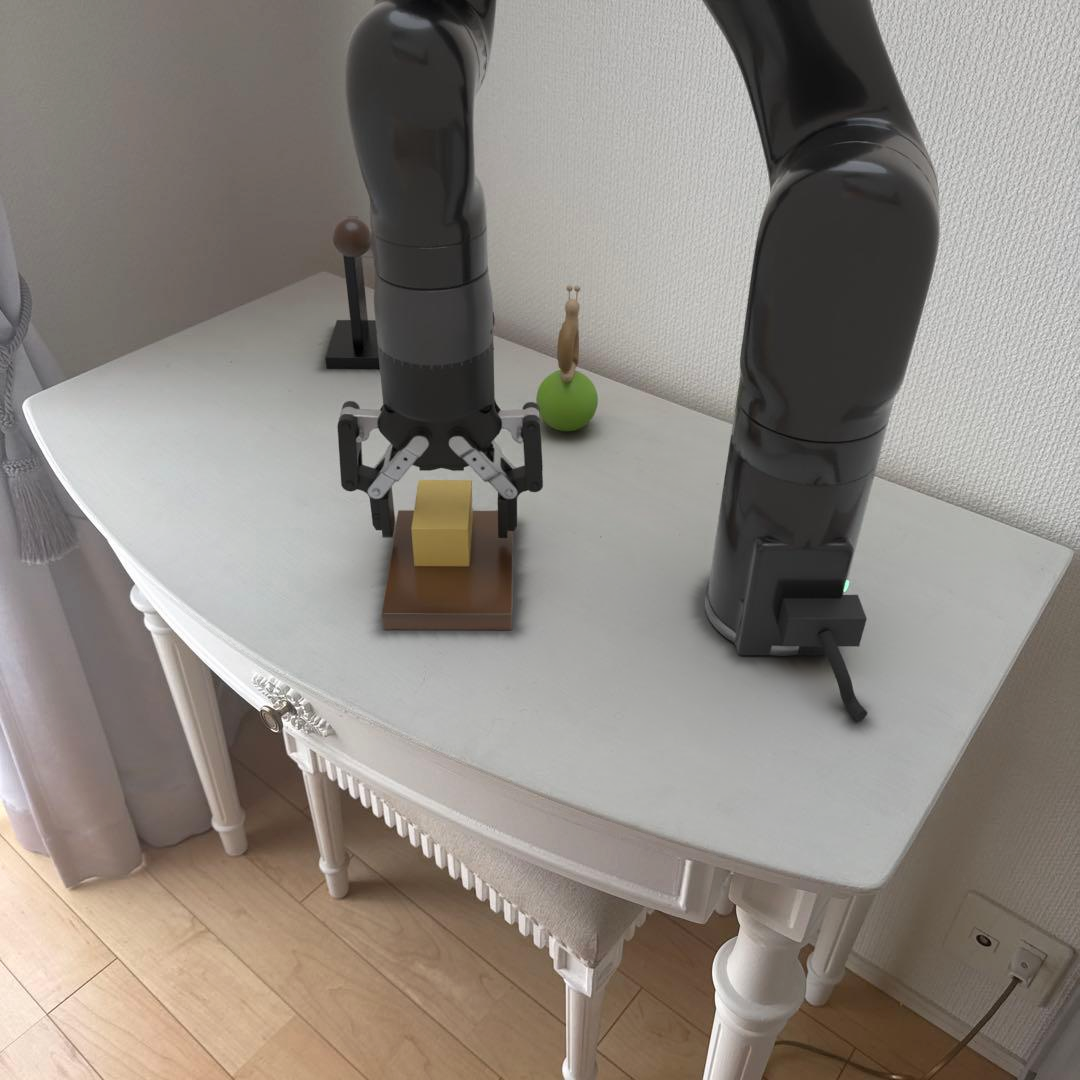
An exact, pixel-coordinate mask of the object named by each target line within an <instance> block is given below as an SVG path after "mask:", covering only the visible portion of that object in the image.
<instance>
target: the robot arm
mask: <svg viewBox="0 0 1080 1080" xmlns="http://www.w3.org/2000/svg"><path fill="white" fill-rule="evenodd" d="M701 1H702V3H703V4H704V6H705V7H706V9H707V10H708V13H709V14H710V15H711V17H712V18H713V20H714V22H715V23H716V25H717V27H718V29H719V30H720V31H721V33H722V35H723V36H724V38H725V40H726V42H727V45H728V46H729V48H730V50H731V52H732V54H733V56H734V58H735V61H736V63H737V66H738V68H739V71H740V74H741V76H742V80H743V82H744V85H745V89H746V91H747V94H748V98H749V102H750V106H751V108H752V111H753V115H754V119H755V121H756V122H755V124H756V126H757V131H758V134H759V138H760V143H761V147H762V151H763V156H764V160H765V165H766V170H767V171H766V172H767V176H768V183H769V195H768V198H767V201H766V203H765V206H764V209H763V212H762V215H761V219H760V223H759V226H758V230H757V231H758V232H757V236H756V242H755V247H754V252H753V260H752V267H751V274H750V280H749V281H750V282H749V287H748V295H747V303H746V310H745V319H744V325H743V333H742V340H741V347H740V355H739V371H740V372H739V381H738V386H737V387H738V388H737V395H736V400H735V407H734V413H733V419H732V420H733V421H732V427H731V435H730V439H729V445H728V453H727V460H726V467H725V472H724V473H725V474H724V479H723V486H722V492H721V499H720V506H719V513H718V521H717V526H716V533H715V539H714V540H715V541H714V546H713V553H712V559H711V560H712V562H711V569H710V574H709V582H708V583H707V588H706V592H705V599H704V608H705V612H706V616H707V618H708V620H709V622H710V623H711V624H712V626H713V627H714V629H716V630H717V631H718V632H719V633H720V634H721V635H722V636H723V637H725V638H726V639H727V640H729V641H730V642H732V643H733V644H734V646H735V649H736V652H737V654H738V655H739V656H777V657H778V656H779V657H781V656H783V657H785V656H787V657H789V656H826V658H827V660H828V663H829V665H830V667H831V670H832V672H833V675H834V677H835V681H836V683H837V686H838V690H839V694H840V698H841V701H842V703H843V705H844V707H845V708H846V711H848V712H849V714H850V715H851V716H852V718H854V720H855V721H857V722H858V721H863V720H864V719H865V718H866V717H867V716H868V711H867V710H866V708H864V707H863V705H861V703H860V702H859V700H858V698H857V697H856V694H855V692H854V686H853V682H852V678H851V676H850V673H849V671H848V668H847V665H846V663H845V661H844V658H843V656H842V653H841V650H840V648H839V647H860V645H861V641H862V637H863V634H864V630H865V627H866V623H867V619H868V618H867V615H866V613H865V610H864V607H863V604H862V603H861V600H860V597H859V595H858V594H845V592H846V591H847V589H848V587H849V584H850V581H849V576H850V572H851V569H852V565H853V561H854V557H855V553H856V549H857V545H858V541H859V537H860V534H861V531H862V526H863V522H864V518H865V514H866V510H867V506H868V503H869V499H870V494H871V490H872V488H873V482H874V479H875V475H876V471H877V469H878V468H877V467H878V464H879V460H880V457H881V452H882V449H883V446H884V441H885V437H886V433H887V430H888V426H889V422H890V418H891V415H892V410H893V407H894V403H895V400H896V397H897V395H898V394H899V392H900V391H901V388H902V385H903V383H904V380H905V377H906V374H907V369H908V366H909V362H910V358H911V355H912V351H913V348H914V345H915V342H916V337H917V333H918V330H919V327H920V323H921V319H922V315H923V313H924V308H925V305H926V301H927V297H928V294H929V290H930V287H931V282H932V278H933V276H934V275H933V274H934V271H935V266H936V261H937V256H938V251H939V245H940V235H941V230H940V229H941V223H940V221H941V219H940V216H941V215H940V190H939V182H938V176H937V171H936V169H935V166H934V164H933V161H932V158H931V157H930V154H929V152H928V149H927V146H926V144H925V142H924V140H923V137H922V135H921V133H920V130H919V129H918V126H917V124H916V121H915V119H914V117H913V113H912V112H911V110H910V107H909V105H908V101H907V100H906V97H905V95H904V91H903V90H902V88H901V84H900V81H899V79H898V77H897V74H896V72H895V68H894V66H893V64H892V61H891V58H890V55H889V52H888V50H887V48H886V45H885V42H884V40H883V37H882V34H881V30H880V27H879V25H878V21H877V17H876V15H875V11H874V9H873V8H874V7H873V4H872V0H701ZM496 13H497V0H373V5H372V8H371V9H370V10H369V11H368V12H367V13H365V15H364V16H362V18H361V19H360V20H359V22H357V24H356V26H355V27H354V28H353V30H352V33H351V35H350V37H349V39H348V43H347V46H346V48H345V54H344V63H343V64H344V65H343V86H344V87H343V90H344V99H345V107H346V114H347V115H346V116H347V121H348V126H349V130H350V135H351V139H352V142H353V147H354V150H355V154H356V157H357V161H358V165H359V169H360V170H359V171H360V174H361V177H362V180H363V183H364V186H365V188H366V192H367V194H368V198H369V222H370V225H369V226H370V230H371V236H372V247H373V267H374V289H373V309H374V311H373V312H374V320H375V322H376V333H377V344H378V354H379V365H380V368H379V374H380V386H381V395H382V406H381V407H380V408H379V409H367V408H361V407H360V405H359V404H358V403H357V402H356V401H353V400H347V401H345V402H344V403H343V404H342V406H341V411H340V414H339V417H338V418H339V419H338V422H337V439H338V441H337V442H338V454H339V455H338V457H339V470H340V471H339V472H340V485H341V487H342V489H343V490H345V491H346V492H355V491H357V490H359V491H361V492H364V493H365V494H366V495H367V496H368V497H369V504H370V505H369V506H370V514H371V523H372V527H373V528H374V530H375V531H381V534H382V538H394V533H395V527H396V517H395V516H396V515H395V505H394V496H393V495H394V494H393V486H394V484H395V483H396V482H397V483H398V482H399V481H401V479H402V478H403V476H405V474H406V473H407V472H408V471H409V469H410V468H411V467H412V466H414V467H416V468H418V469H419V471H421V472H422V471H425V472H426V471H428V472H429V471H430V472H431V471H435V470H439V469H444V470H448V471H454V472H456V471H457V472H461V471H462V472H463V471H465V468H467V467H470V468H471V469H472V470H473V472H475V474H477V476H478V477H479V478H480V479H481V480H482V481H483V482H485V483H487V482H488V483H489V484H490V485H491V486H492V487H493V488H494V490H495V491H496V492H497V511H498V538H508V531H514V532H515V530H516V529H517V526H518V497H519V495H520V494H522V493H524V492H527V491H529V492H531V493H539V492H540V491H542V490H543V487H544V477H543V474H544V473H543V471H544V470H543V469H544V467H543V465H544V464H543V448H542V428H541V416H540V408H539V406H538V405H537V404H536V402H533V401H529V402H525V404H524V405H523V406H522V408H521V409H503V410H501V408H500V407H499V406H498V404H497V401H496V399H495V397H496V396H495V395H496V394H495V351H494V349H495V348H494V345H495V344H494V326H495V323H496V322H495V319H496V318H495V313H494V304H493V303H494V302H493V292H492V286H491V282H490V274H489V265H488V264H489V254H488V253H489V252H488V251H489V249H488V247H489V246H488V214H487V203H486V196H485V192H484V191H485V190H484V188H483V184H482V182H481V180H480V179H479V177H478V176H477V175H476V165H475V164H476V162H475V161H476V159H475V136H474V135H475V131H474V129H475V128H474V122H475V121H474V120H475V100H476V99H475V98H476V96H477V95H478V92H479V90H480V89H481V87H482V85H483V83H484V81H485V78H486V76H487V72H488V69H489V64H490V60H491V54H492V48H493V47H492V46H493V39H494V32H495V23H496ZM375 429H378V431H379V433H380V434H381V436H383V437H384V438H385V439H386V440H387V441H388V443H390V444H389V445H388V446H387V448H386V451H385V453H384V454H383V455H382V457H380V459H379V460H378V462H377V463H376V464H375V465H374V466H368V465H364V464H363V463H364V462H363V444H362V443H363V442H366V441H367V440H368V439H369V438H370V433H371V432H372V431H373V430H375ZM502 429H504V430H507V431H508V432H509V433H510V435H511V438H512V439H513V440H514V441H515V442H517V443H518V444H523V445H522V446H523V458H524V459H523V460H524V461H523V463H524V465H522V466H518V467H515V466H514V465H513V463H511V462H510V461H509V460H508V458H507V457H506V456H505V455H504V454H503V452H502V449H501V447H500V446H499V444H498V443H497V442H496V441H495V439H496V438H497V436H498V435H499V434H500V433H501V431H502Z"/></svg>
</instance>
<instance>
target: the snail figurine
mask: <svg viewBox="0 0 1080 1080" xmlns="http://www.w3.org/2000/svg"><path fill="white" fill-rule="evenodd" d="M566 291H567V292H568V300H566V302H565V305H564V311H565V318H564V321H563V323H562V324H561V328H560V330H559V332H558V339H557V348H556V349H557V351H556V359H557V365H558V368H559V370H556V371H553V372H551V373H550V374H548V375H547V376H545V378H544V379H543V381H541V383H540V384H539V387H538V389H537V392H536V399H535V403H536V404H537V405H538V406H539V408H540V419H542V420H543V422H544V423H545V424H546V425H547V426H549V427H551V428H552V429H554V430H557V431H561V432H573V431H577V430H580V429H581V428H584V427H585V426H586V425H587V424H588V423H590V421H591V420H592V419H593V417H594V416H595V414H596V412H597V409H598V403H599V397H598V392H597V389H596V386H595V384H594V383H593V381H592V380H591V379H590V378H589V377H588V376H587V375H586V374H585V373H583V372H581V371H578V370H576V369H577V366H578V364H579V360H580V331H579V329H580V328H579V327H580V326H579V325H580V324H579V323H580V322H579V314H580V313H579V312H580V308H581V306H580V303H579V301H578V292H580V291H581V286H580V285H575V286H574V287H573V285H571V284H568V285H567V286H566ZM572 291H575V292H576V296H575V298H571V292H572Z"/></svg>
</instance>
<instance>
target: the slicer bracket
mask: <svg viewBox="0 0 1080 1080" xmlns="http://www.w3.org/2000/svg"><path fill="white" fill-rule="evenodd" d="M348 217H349V216H347V217H346V218H348ZM354 217H355V218H358V219H359V217H358V216H354ZM342 255H343V254H342ZM343 266H344V276H345V284H346V293H347V303H348V312H349V319H337V320H336V321H335V325H334V327H333V331H332V334H331V337H330V340H329V343H328V346H327V350H326V353H325V356H324V361H325V368H326V369H380V365H379V354H378V344H377V333H376V322H375V319H369V316H368V307H367V297H366V287H365V276H364V267H363V266H364V265H363V257H360V256H359V257H347V256H345V255H343Z"/></svg>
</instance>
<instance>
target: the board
mask: <svg viewBox="0 0 1080 1080" xmlns="http://www.w3.org/2000/svg"><path fill="white" fill-rule="evenodd" d="M413 514H414V509H413V510H412V509H410V510H409V509H408V510H407V509H406V510H404V509H399V510H397V515H396V520H395V526H394V532H393V540H392V545H391V546H392V547H391V552H390V559H389V563H388V571H387V577H386V584H385V589H384V595H383V602H382V608H381V614H380V615H381V622H382V623H381V625H382V630H417V631H419V630H423V631H424V630H427V631H428V630H434V631H435V630H437V631H438V630H444V631H445V630H446V631H447V630H448V631H449V630H450V631H451V630H453V631H454V630H455V631H458V630H459V631H460V630H463V631H464V630H465V631H467V630H468V631H469V630H471V631H472V630H473V631H480V630H481V631H483V630H484V631H498V630H499V631H501V630H502V631H512V630H513V601H514V600H513V599H514V598H513V597H514V595H513V593H514V592H513V590H514V588H513V587H514V539H515V537H514V536H515V534H514V532H515V531H508V538H498V510H473V522H472V536H471V550H470V564H469V566H414V555H413V542H412V530H411V528H412V521H413Z"/></svg>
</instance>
